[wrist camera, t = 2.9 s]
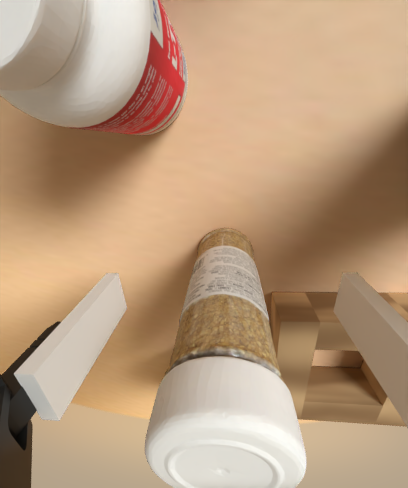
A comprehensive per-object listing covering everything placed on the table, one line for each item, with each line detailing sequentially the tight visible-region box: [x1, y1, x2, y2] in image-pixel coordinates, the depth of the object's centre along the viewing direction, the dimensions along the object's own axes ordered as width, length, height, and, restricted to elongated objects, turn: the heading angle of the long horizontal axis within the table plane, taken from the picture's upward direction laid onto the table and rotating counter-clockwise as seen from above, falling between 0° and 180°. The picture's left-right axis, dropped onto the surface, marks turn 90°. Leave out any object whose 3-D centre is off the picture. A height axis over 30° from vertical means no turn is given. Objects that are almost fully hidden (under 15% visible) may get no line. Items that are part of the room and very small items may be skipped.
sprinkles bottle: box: [145, 228, 306, 488], centre depth 12 cm, size 5×5×13 cm
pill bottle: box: [0, 0, 188, 135], centre depth 9 cm, size 6×6×11 cm
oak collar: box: [269, 292, 408, 426], centre depth 19 cm, size 12×12×4 cm
